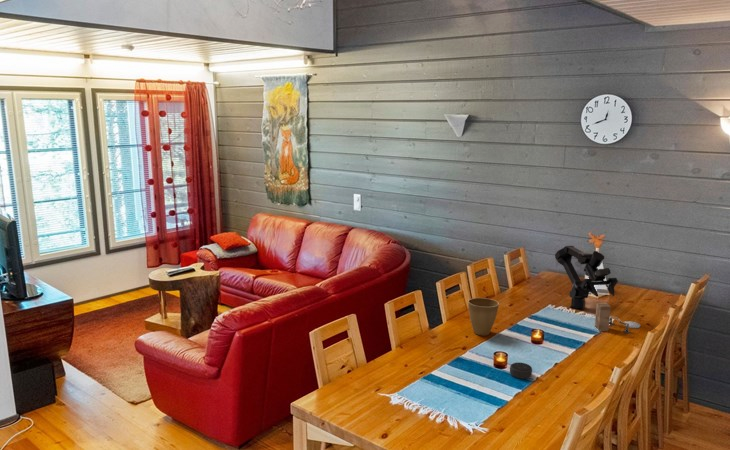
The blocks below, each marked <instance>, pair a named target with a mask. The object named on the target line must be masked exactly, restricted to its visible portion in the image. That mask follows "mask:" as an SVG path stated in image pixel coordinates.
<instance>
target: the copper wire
mask: <svg viewBox="0 0 730 450" xmlns="http://www.w3.org/2000/svg"><path fill="white" fill-rule="evenodd" d="M613 320H616V321H617V323H618V324H621V325H623V326H624V325H626V326H625V329H624V330H623V331H622V332H623V333H625V334H630V333H631V331H630V330H629V324H628V323H625V322H626V321H622V320H621V319H620V318H619V317H617V316H615V315H610V319H609V324H610V325H609V326H614V325H615V323H614V322H613Z"/></svg>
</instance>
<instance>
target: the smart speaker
mask: <svg viewBox="0 0 730 450" xmlns="http://www.w3.org/2000/svg"><path fill="white" fill-rule="evenodd" d="M509 374H510V375H511V376H512V377H514V378H517V379H520V380H521V379H522V380H525V379H530V378H531V377H532V375H533V367H532V366H531V365H529V364H528V363H525V362H514V363H511V364H510V366H509Z"/></svg>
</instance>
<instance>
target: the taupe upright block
mask: <svg viewBox="0 0 730 450" xmlns="http://www.w3.org/2000/svg"><path fill="white" fill-rule="evenodd" d="M610 316H611V305H610V304H608V303H607V302H599V303H598V302H596V307H595V319H594V328H595V327H596V328H597V329H598V330H601V331H600V332H609V329H610V325H609V321H610ZM596 328H595V329H596ZM597 329H596V330H597ZM598 330H597V331H598Z"/></svg>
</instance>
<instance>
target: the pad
mask: <svg viewBox="0 0 730 450" xmlns="http://www.w3.org/2000/svg"><path fill="white" fill-rule="evenodd" d="M624 322H625V323H628V324H629V327H628V329H629V328H630V329H640V328H641V324H640V323H639V322H636V321H627V320H626V321H624ZM623 326H624V327H626V325H623Z"/></svg>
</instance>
